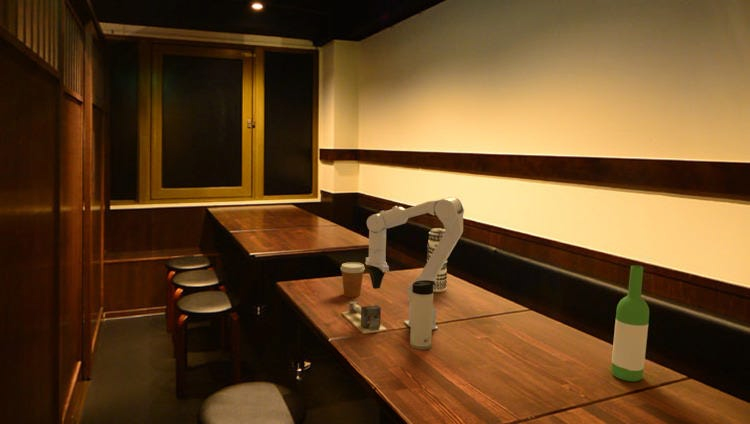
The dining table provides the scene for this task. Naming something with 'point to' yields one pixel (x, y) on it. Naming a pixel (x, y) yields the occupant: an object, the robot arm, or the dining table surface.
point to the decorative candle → (433, 241)
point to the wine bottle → (631, 331)
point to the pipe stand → (355, 319)
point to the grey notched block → (369, 314)
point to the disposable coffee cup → (352, 278)
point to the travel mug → (421, 314)
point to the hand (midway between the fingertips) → (376, 288)
